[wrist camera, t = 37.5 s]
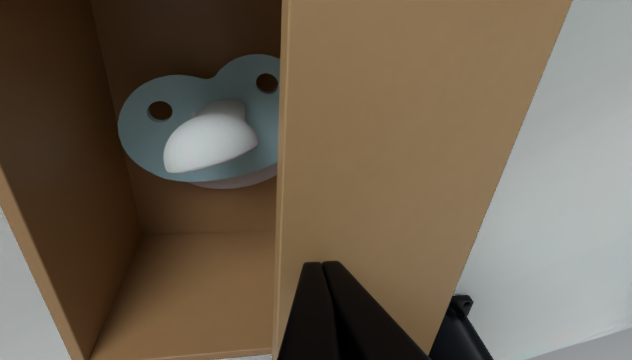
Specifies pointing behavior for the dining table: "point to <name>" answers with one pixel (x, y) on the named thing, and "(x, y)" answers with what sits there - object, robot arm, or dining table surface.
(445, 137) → the flap
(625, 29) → the dining table surface
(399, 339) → the robot arm
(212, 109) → the pacifier
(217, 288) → the carton
